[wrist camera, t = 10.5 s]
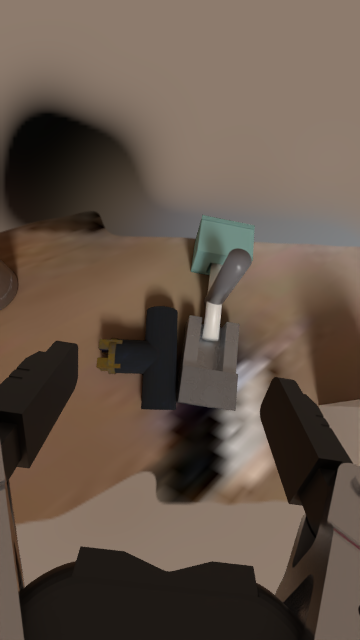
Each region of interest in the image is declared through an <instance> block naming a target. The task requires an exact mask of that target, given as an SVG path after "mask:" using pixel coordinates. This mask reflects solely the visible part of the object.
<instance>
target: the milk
mask: <svg viewBox="0 0 360 640" xmlns="http://www.w3.org/2000/svg"><path fill="white" fill-rule="evenodd" d="M319 408H320V411H321V412H322V414H323V416H324V418H325V419H326V420H327V422H328V424H329V425H330V426H329V427H330V428H332V430H333V432H334V433H335V435H336V436H337V438H338V440H339V441H340V443H341V445H342V446H343V448H344V449H345V451H346V453H347V454H348V456H349V457H350V459H351V461H352V462H353V464H356V465H358V466H360V399H358V400H351V401H345V402H338V403H331V404H324V405H319Z"/></svg>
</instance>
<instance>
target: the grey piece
mask: <svg viewBox="0 0 360 640" xmlns="http://www.w3.org/2000/svg"><path fill="white" fill-rule="evenodd" d="M251 263H252V259H251V256H250V254H249V253H248V252H247V251H245V250H243V249H240V248H236V249H233V250H231V251H230V252H229V254H228V256H227V258H226V260H225V262H224V264H223V265H221V264H216V263H211V269H210V278H209V286H208V294H207V296H206V298H205V300H204V303H205V306H206V311H205V319H204V327H203V336H202V339H204V340H207V341H218V339H219V329H220V319H221V309H222V304H223V302H224V301H225V300H226V298H227V297H228V295H229V294H230V293H231V291H232V290H233V289H234V287H235V286H236V284H237V283H238V282H239V280H240V279H241V278H242V276H243V275H244V274H245V272H246V271H247V269H248V268H249V267H250V265H251Z"/></svg>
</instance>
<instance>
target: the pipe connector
mask: <svg viewBox="0 0 360 640" xmlns="http://www.w3.org/2000/svg"><path fill="white" fill-rule="evenodd" d="M177 314H178V312H177V310H176V309H174V308H171V307H165V306H156V307H151V308H149V309H148V310H147V317H146V335H145V341H142V340H120V339H118V338H111V340H108V339H100V342H99V349H100V350H102V353H104V354H108V358H98V359H97V368H100V370H101V371H108V373H109V374H116V373H138V374H143V386H142V403H141V409H155V410H175V409H176V371H177Z"/></svg>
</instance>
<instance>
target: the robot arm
mask: <svg viewBox="0 0 360 640" xmlns="http://www.w3.org/2000/svg"><path fill="white" fill-rule="evenodd" d="M17 289H18V281H17V277H16V276H15V274H14V272H13V271H12V270H11V269H10V268H9V267H8V266H7V265H6V264H5V263H4V262H2V261H1V260H0V310H1V309H3V308H4V307H6V306H7V305H8V304H9V303H10V302H11V301H12V300H13V298H14V297H15V295H16V292H17ZM77 379H78V345H77V344H74V343H68V342H62V341H55V342H54V343H53V344H52V346H51V347H50V348H49V349H48V350H47V351H46V352H41V351H39V352H37V353H35V354H33V355H31V356H29V357H27V358H26V359H25V360H24V361H23V362H22V363H21V364H20V365H19V366H18V367H17V369H16V370H14V371H13V372H12V373H11V374H10V375H9V378H6V379H5V380H4V381H3V382H2V383H1V384H0V640H360V466H358V465H356V464H353V462H352V461H351V459H350V457H349V456H348V454H347V453H346V451H345V449H344V448H343V446H342V445H341V443H340V441H339V440H338V438H337V436H336V435H335V433H334V432H333V430H332V428H330V427H329V426H330V425H329V424H328V422H327V420H326V419H325V418H324V416H323V414H322V412H321V411H320V409H319V408H318V406H317V405H316V404H315V403H314V402H313V401H312V400H311V399H310V398H309V397H308V396H307V395H306V394H303V393H302V391H301V389H300V388H299V386H298V384H297V383H296V381H294V380H291V379H284V378H278V377H275V378H273V379H272V381H271V383H270V386H269V388H268V390H267V393H266V395H265V397H264V399H263V402H262V404H261V408H260V418H261V422H262V425H263V428H264V431H265V434H266V437H267V440H268V443H269V446H270V449H271V452H272V455H273V458H274V461H275V464H276V467H277V470H278V473H279V476H280V479H281V482H282V485H283V488H284V491H285V494H286V497H287V500H288V503H289V504H295V505H302V506H303V508H304V510H305V514H304V515H303V517H302V519H301V522H300V526H299V529H298V532H297V536H296V539H295V542H294V546H293V549H292V552H291V556H290V559H289V562H288V566H287V569H286V572H285V574H284V577H283V579H282V581H281V583H280V585H279V587H278V589H277V591H276V593H275V595H274V594H273V593H271V592H270V591H269V590H267V589H266V588H264V587H263V586H261V585H260V584H258V583H256V580H255V574H254V569H253V566H247V565H238V564H228V563H220V562H208V563H204V564H200V565H197V566H192V567H188V568H184V569H180V570H176V571H171V572H168V571H164V570H161V569H160V568H158V567H155V566H153V565H151V564H149V563H147V562H145V561H143V560H141V559H139V558H137V557H135V556H133V555H131V554H128V553H126V552H124V551H115V550H107V549H98V548H89V547H80V550H79V554H78V557H77V560H76V561H75V562H71V563H67V564H64V565H62V566H59V567H56V568H54V569H52V570H50V571H48V572H47V573H45V574H43V575H41V576H40V577H38V578H37V579H35V580H34V581H32V582H31V583H30V584H28V585H27V586H26V587H25V585H24V578H23V572H22V565H21V559H20V553H19V547H18V540H17V533H16V526H15V519H14V511H13V504H12V497H11V490H10V483H9V478H10V477H11V475H12V473H13V472H14V470H15V469H16V467H23V468H30V466H31V465H32V463H33V461H34V459H35V458H36V456H37V454H38V452H39V451H40V449H41V447H42V445H43V444H44V442H45V440H46V438H47V437H48V435H49V433H50V431H51V429H52V428H53V426H54V424H55V422H56V421H57V419H58V417H59V415H60V414H61V412H62V410H63V408H64V407H65V405H66V403H67V401H68V400H69V398H70V396H71V394H72V393H73V391H74V389H75V386H76V383H77Z"/></svg>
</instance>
